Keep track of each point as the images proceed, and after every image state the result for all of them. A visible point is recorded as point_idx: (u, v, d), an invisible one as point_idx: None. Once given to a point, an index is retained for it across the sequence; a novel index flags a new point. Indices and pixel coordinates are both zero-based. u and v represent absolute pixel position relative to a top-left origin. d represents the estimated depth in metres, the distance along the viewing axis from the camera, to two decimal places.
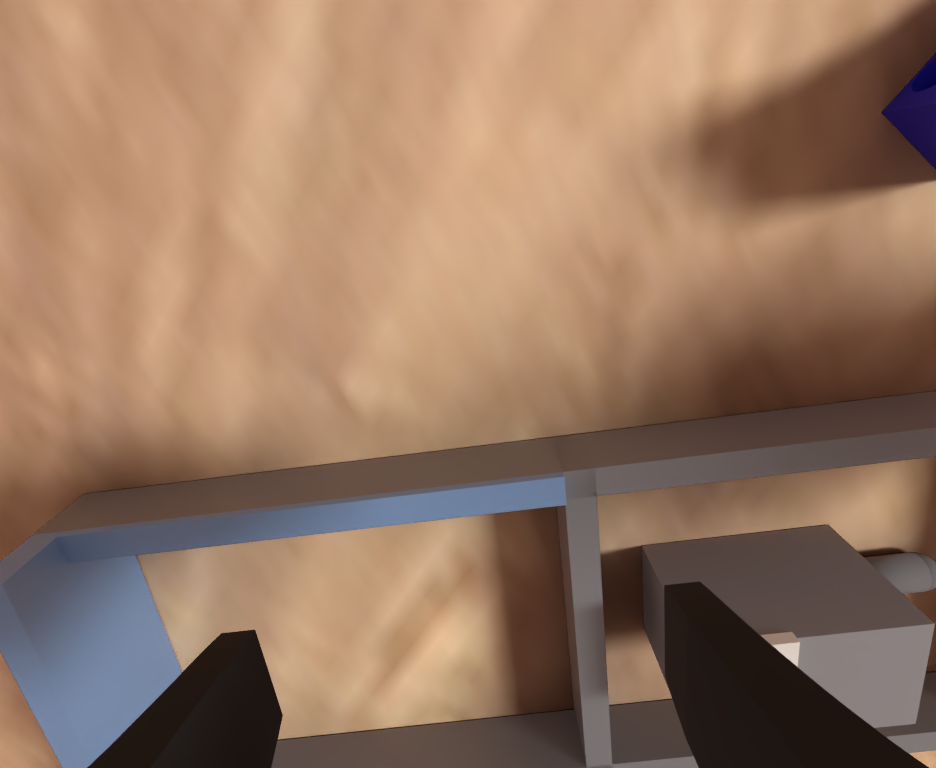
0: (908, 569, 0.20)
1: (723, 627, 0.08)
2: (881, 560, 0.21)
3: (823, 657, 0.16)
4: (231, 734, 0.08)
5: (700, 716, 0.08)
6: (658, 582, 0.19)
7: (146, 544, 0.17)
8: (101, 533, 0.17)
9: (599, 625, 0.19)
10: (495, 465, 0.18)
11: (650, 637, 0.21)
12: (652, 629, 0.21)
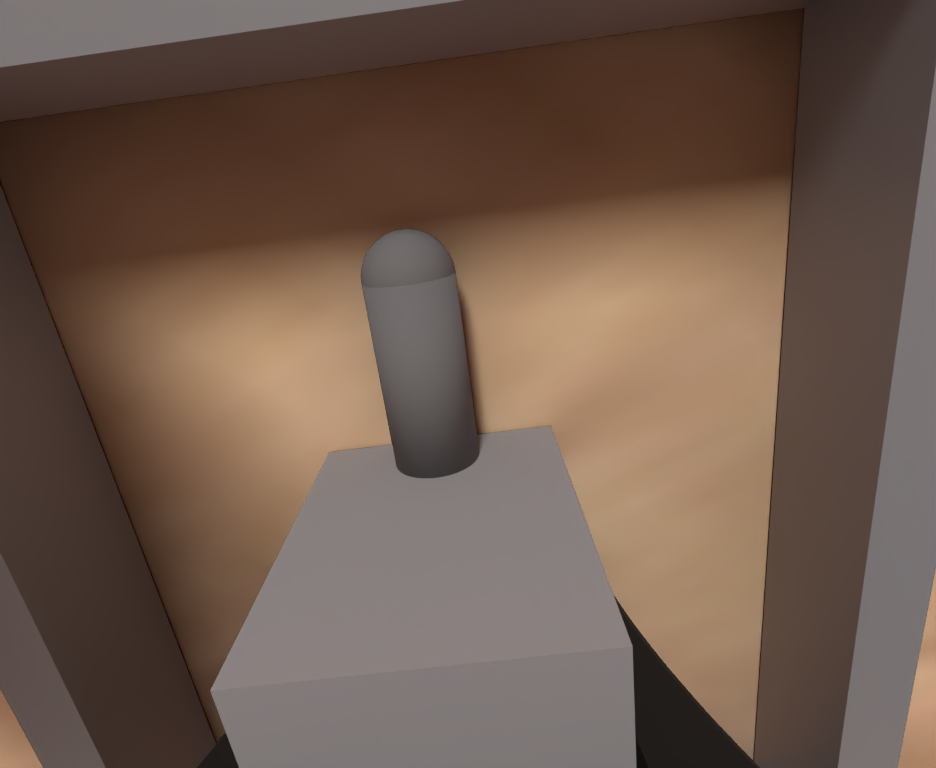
0: (377, 334, 0.08)
1: None
2: None
3: None
4: None
5: None
6: None
7: None
8: None
9: None
10: None
11: None
12: None
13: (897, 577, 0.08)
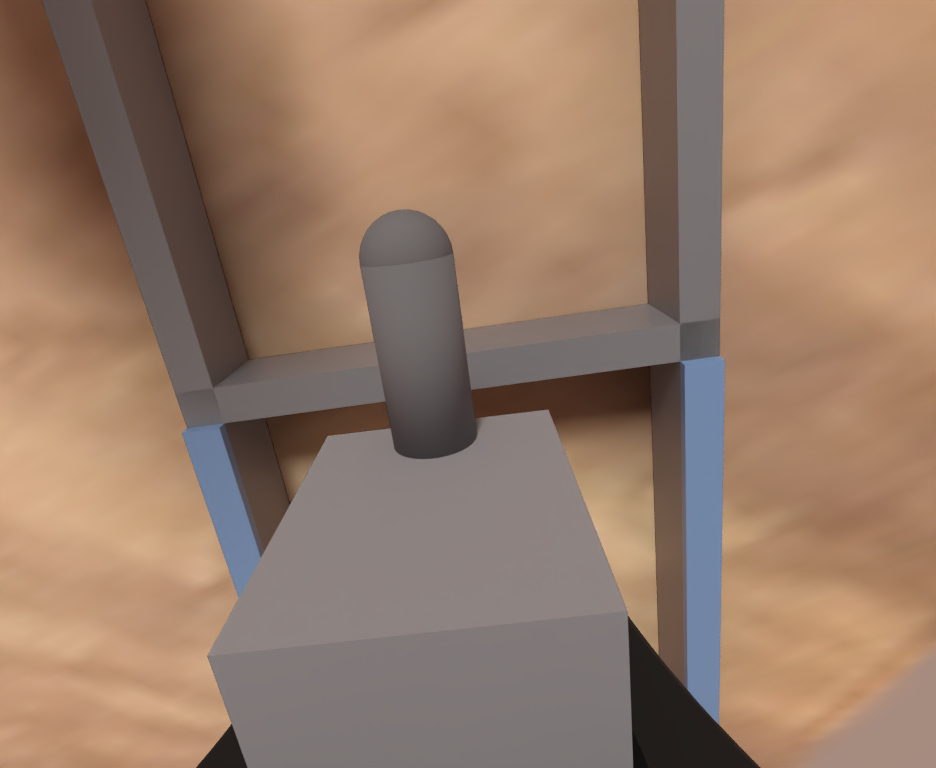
0: (375, 314, 0.08)
1: None
2: None
3: None
4: None
5: None
6: None
7: None
8: None
9: None
10: None
11: None
12: None
13: None
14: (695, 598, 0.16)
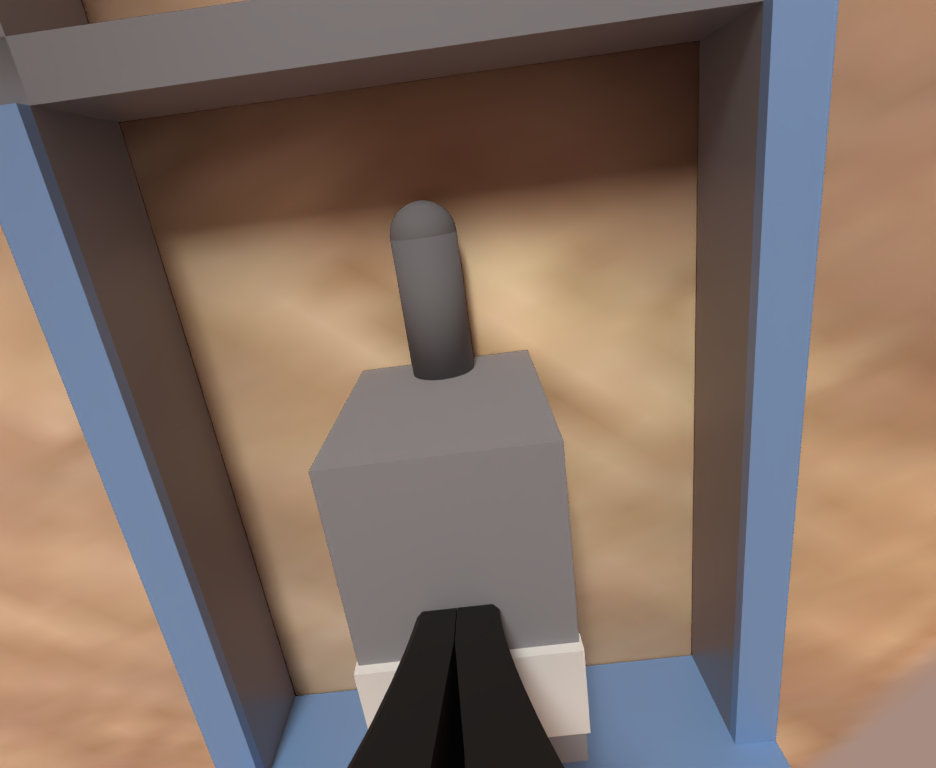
0: (401, 274, 0.11)
1: (480, 653, 0.08)
2: None
3: (397, 621, 0.10)
4: (459, 710, 0.08)
5: None
6: None
7: (222, 715, 0.13)
8: (212, 754, 0.14)
9: (323, 1, 0.09)
10: None
11: None
12: None
13: None
14: (764, 428, 0.11)
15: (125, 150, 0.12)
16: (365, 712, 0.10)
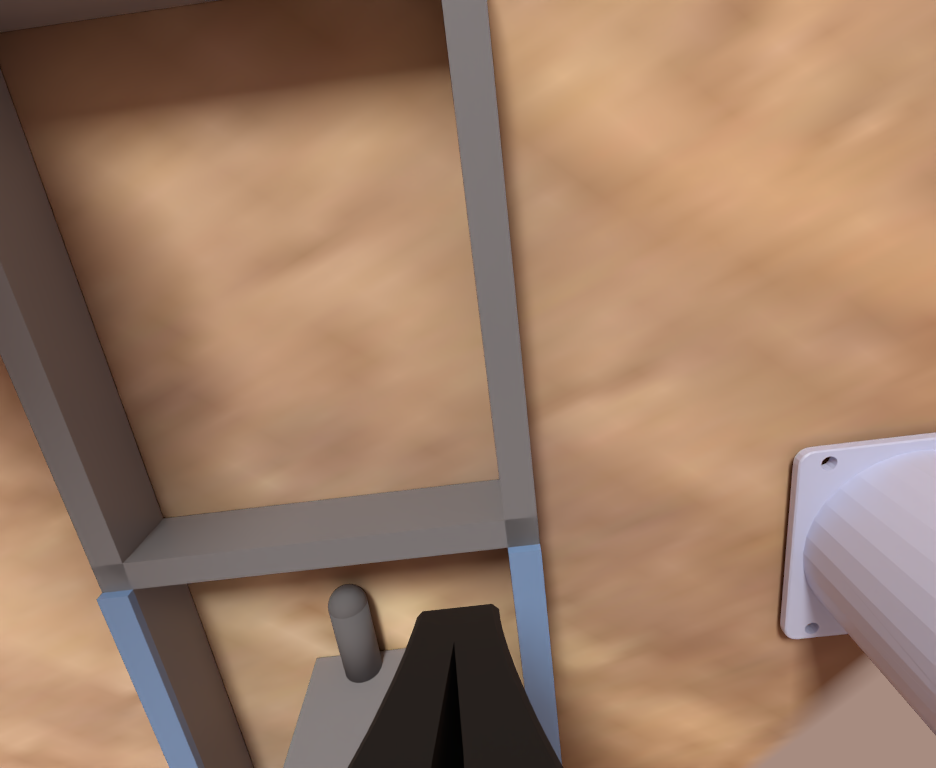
0: (334, 629, 0.20)
1: (479, 653, 0.08)
2: None
3: None
4: (459, 710, 0.08)
5: None
6: None
7: None
8: None
9: (284, 550, 0.17)
10: None
11: None
12: None
13: (494, 282, 0.14)
14: None
15: None
16: None
